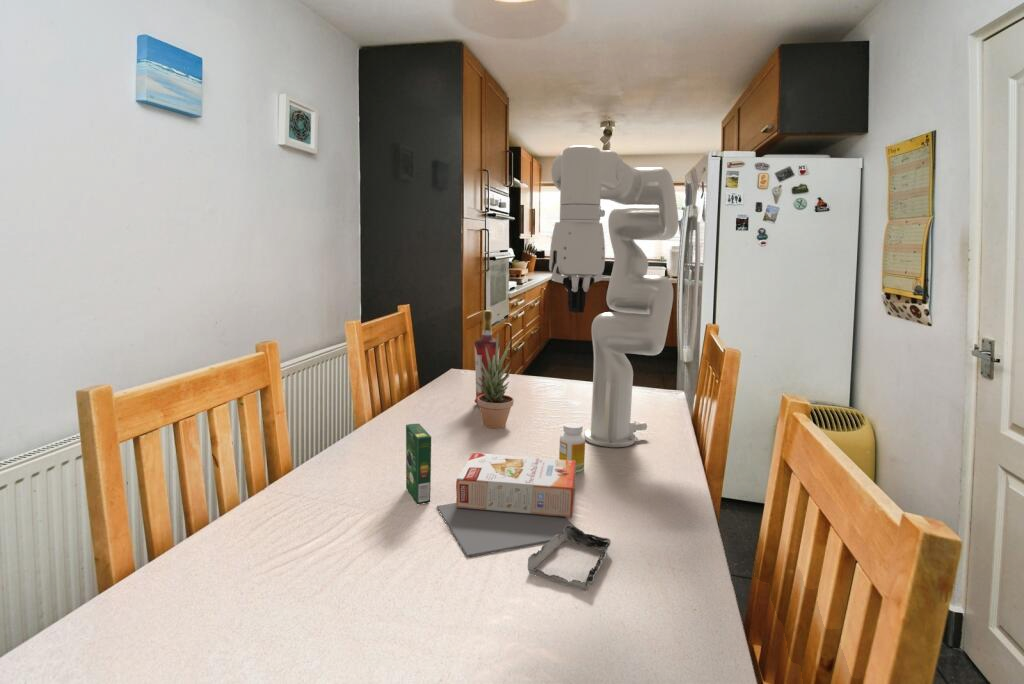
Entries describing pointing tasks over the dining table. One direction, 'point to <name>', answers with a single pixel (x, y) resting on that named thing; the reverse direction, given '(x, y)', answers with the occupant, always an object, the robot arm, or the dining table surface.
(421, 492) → the coffee box
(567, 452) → the supplement bottle
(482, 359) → the liquor
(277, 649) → the dining table surface
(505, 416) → the potted plant
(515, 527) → the notebook
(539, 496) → the cracker box
